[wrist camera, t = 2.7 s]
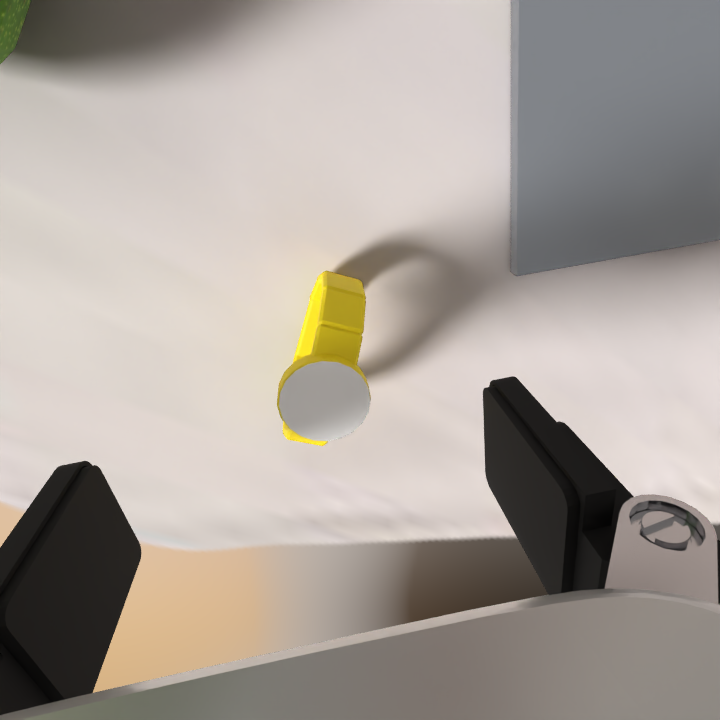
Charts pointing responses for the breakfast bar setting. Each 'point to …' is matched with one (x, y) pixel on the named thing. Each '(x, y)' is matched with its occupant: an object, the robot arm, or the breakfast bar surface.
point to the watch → (327, 366)
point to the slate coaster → (613, 129)
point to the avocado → (11, 24)
